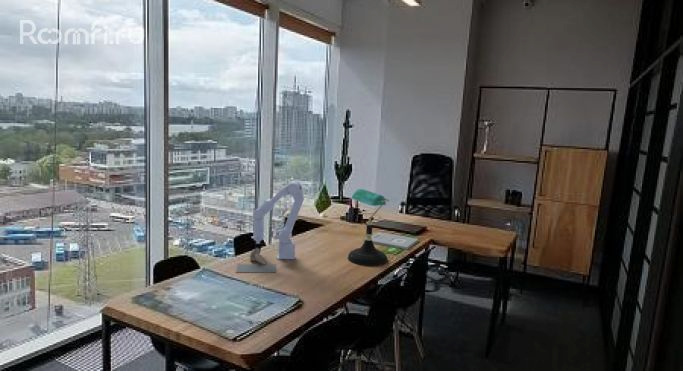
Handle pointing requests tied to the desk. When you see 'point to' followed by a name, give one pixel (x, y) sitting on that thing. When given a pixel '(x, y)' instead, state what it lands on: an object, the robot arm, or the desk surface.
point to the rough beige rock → (257, 256)
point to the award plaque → (393, 240)
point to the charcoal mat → (256, 268)
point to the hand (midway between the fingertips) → (258, 252)
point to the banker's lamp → (368, 233)
